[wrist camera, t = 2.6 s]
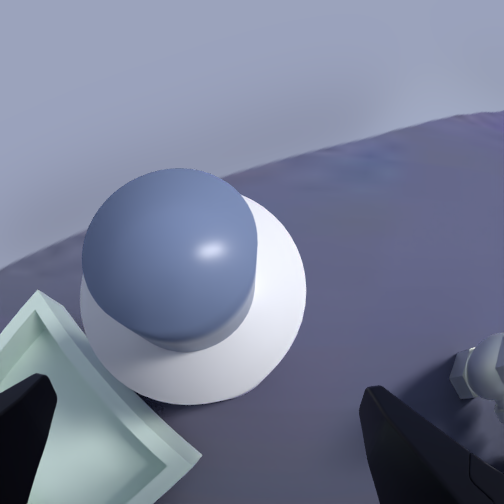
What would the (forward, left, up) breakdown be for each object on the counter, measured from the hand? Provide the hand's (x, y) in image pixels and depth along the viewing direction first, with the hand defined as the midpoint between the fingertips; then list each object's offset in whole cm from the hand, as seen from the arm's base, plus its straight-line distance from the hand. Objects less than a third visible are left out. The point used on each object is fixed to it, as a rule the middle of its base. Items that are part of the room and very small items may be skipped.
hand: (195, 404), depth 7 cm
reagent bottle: (+2, +2, -10) cm, 10 cm away
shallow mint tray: (-9, +5, -10) cm, 14 cm away
